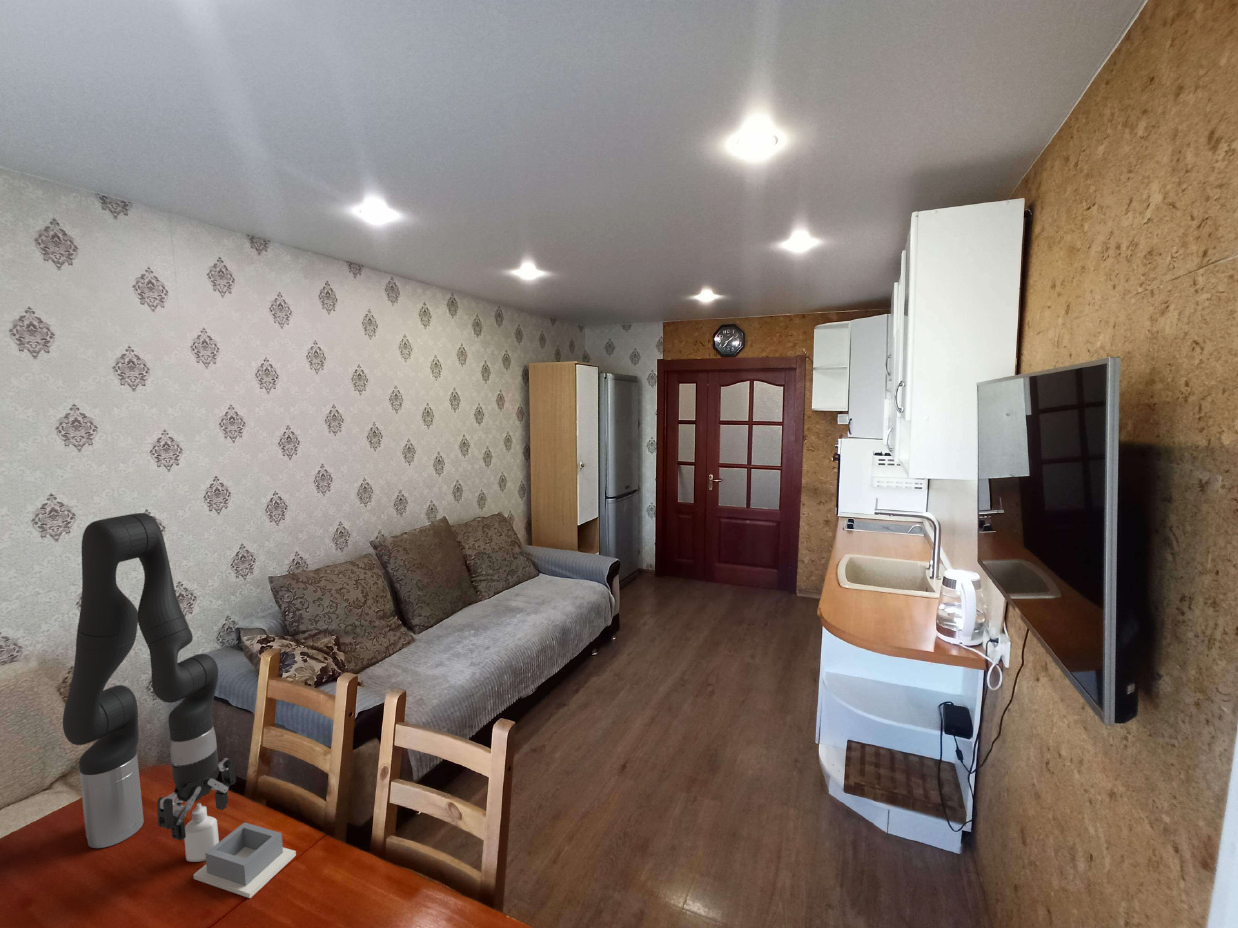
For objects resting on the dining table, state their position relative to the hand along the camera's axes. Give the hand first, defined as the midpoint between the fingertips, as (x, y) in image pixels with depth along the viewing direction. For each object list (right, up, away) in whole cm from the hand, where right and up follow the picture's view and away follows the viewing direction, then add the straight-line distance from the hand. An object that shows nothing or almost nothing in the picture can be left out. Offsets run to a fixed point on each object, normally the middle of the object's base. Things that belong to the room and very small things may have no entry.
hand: (201, 822), depth 114 cm
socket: (+11, -8, -2) cm, 13 cm away
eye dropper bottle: (0, -8, +1) cm, 8 cm away
